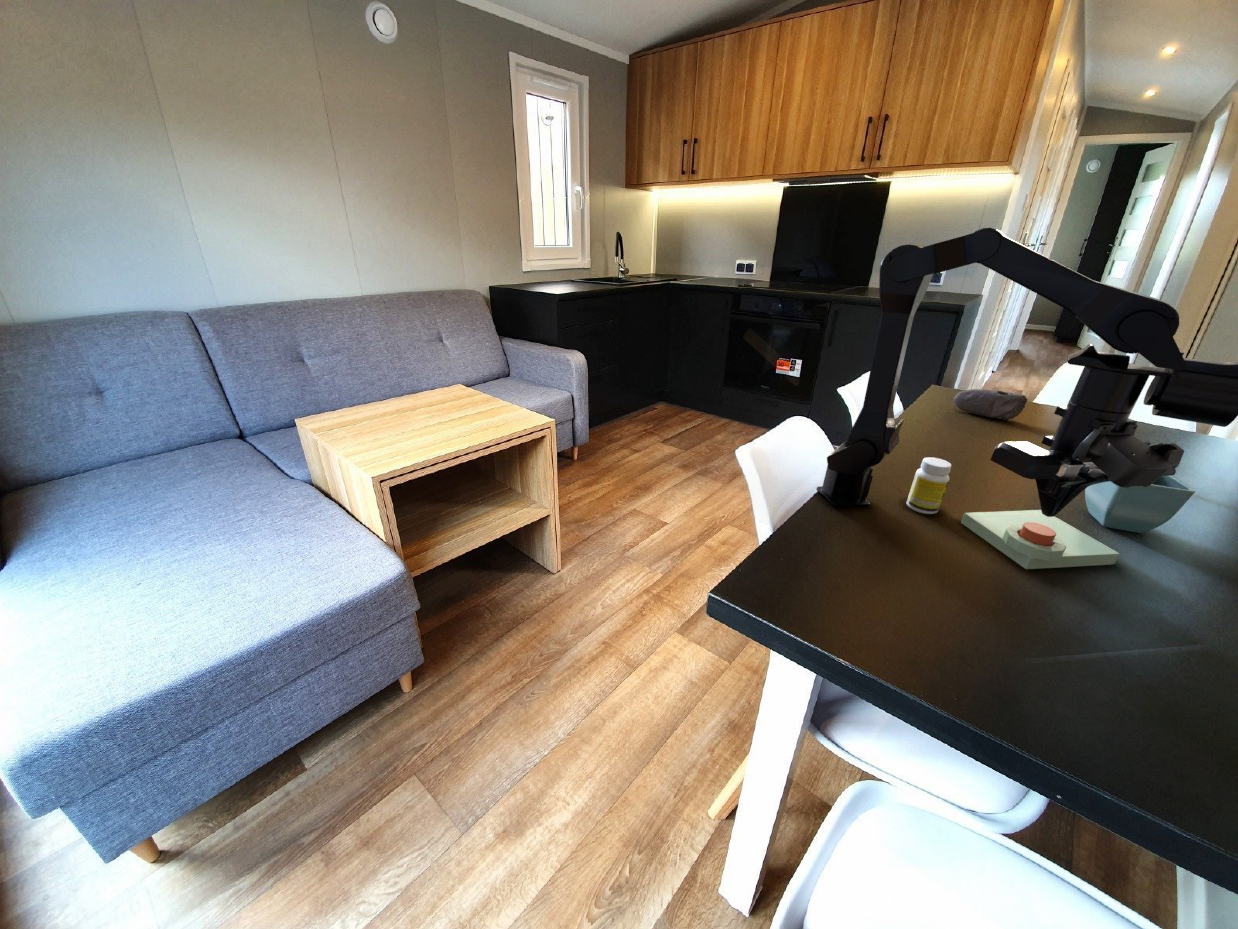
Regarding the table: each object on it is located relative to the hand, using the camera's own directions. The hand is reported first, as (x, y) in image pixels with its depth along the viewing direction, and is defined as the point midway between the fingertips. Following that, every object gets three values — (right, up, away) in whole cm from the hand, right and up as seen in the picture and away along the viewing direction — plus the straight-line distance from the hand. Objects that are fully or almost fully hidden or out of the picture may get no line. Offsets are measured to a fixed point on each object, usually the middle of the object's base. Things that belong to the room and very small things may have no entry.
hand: (1047, 515), depth 66 cm
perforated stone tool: (+37, +20, +61) cm, 74 cm away
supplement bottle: (-8, 0, +15) cm, 17 cm away
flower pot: (+22, -3, +13) cm, 26 cm away
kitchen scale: (+4, -5, +7) cm, 9 cm away
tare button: (0, -4, +2) cm, 4 cm away
